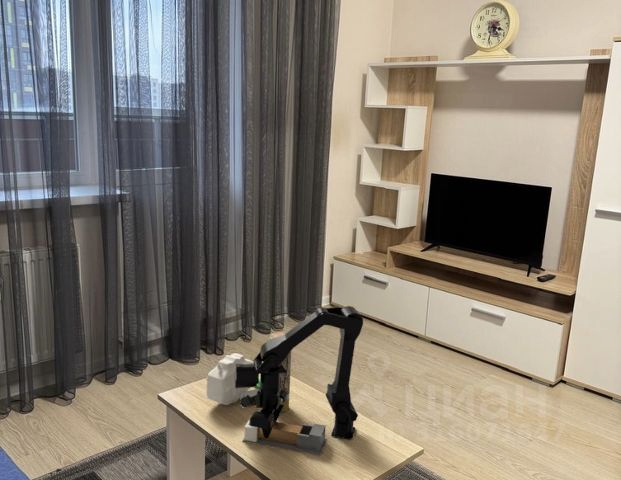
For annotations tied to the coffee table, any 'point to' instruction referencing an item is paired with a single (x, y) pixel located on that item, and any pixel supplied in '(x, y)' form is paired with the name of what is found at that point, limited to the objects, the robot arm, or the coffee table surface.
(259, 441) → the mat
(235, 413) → the coffee table surface
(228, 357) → the camera
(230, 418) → the coffee table surface
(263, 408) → the robot arm
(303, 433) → the sleeve
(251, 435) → the socket
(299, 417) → the coffee table surface
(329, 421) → the coffee table surface
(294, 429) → the tan wooden block
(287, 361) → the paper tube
